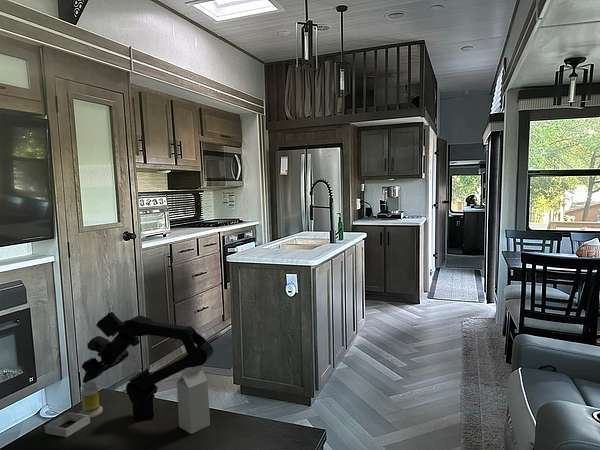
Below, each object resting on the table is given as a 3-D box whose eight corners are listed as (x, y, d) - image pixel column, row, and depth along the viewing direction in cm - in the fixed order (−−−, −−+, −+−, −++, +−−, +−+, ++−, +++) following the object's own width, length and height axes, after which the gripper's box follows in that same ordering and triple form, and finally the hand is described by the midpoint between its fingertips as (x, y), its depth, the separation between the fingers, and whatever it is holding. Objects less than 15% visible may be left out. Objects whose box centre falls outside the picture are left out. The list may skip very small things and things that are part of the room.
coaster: (105, 407, 151) (105, 404, 151) (98, 417, 143) (98, 414, 143) (84, 409, 150) (83, 406, 150) (75, 419, 142) (75, 416, 142)
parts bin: (69, 419, 143) (69, 412, 143) (90, 422, 140) (89, 415, 140) (45, 433, 134) (44, 425, 134) (66, 437, 131) (66, 429, 131)
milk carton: (210, 425, 134) (207, 368, 134) (191, 434, 129) (187, 375, 129) (198, 418, 139) (195, 363, 139) (179, 427, 134) (175, 369, 133)
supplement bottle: (102, 408, 147) (101, 381, 147) (88, 415, 143) (86, 387, 142) (93, 405, 150) (91, 379, 150) (79, 412, 145) (77, 385, 145)
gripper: (118, 322, 153) (94, 351, 155) (84, 338, 135) (57, 370, 137) (139, 342, 152) (115, 372, 154) (108, 361, 134) (80, 394, 136)
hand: (92, 376), depth 146 cm, fingers open, 9 cm apart
